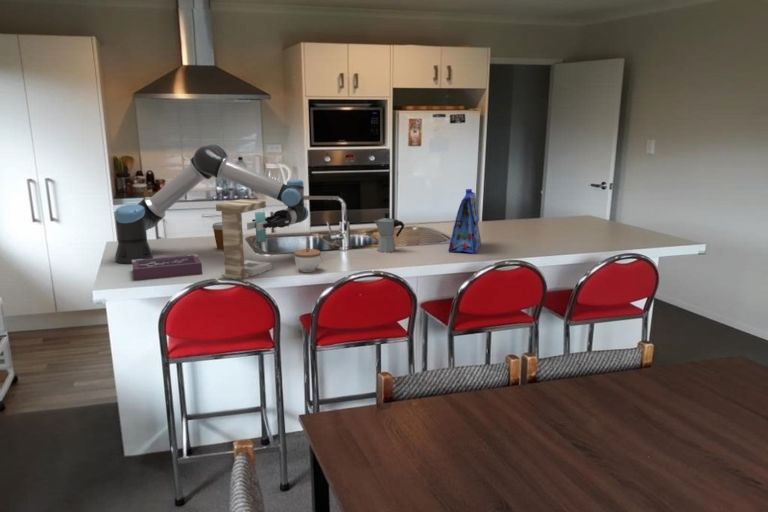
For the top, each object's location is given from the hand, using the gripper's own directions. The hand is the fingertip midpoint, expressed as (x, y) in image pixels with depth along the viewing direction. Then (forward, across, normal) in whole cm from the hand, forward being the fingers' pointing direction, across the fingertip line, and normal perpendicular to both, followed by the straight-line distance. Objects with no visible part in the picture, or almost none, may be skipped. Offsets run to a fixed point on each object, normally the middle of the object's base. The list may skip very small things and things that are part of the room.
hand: (252, 226), depth 234 cm
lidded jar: (-8, -20, -18) cm, 29 cm away
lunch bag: (-75, -68, -18) cm, 103 cm away
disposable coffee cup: (-26, +36, -18) cm, 48 cm away
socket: (+3, 0, -18) cm, 18 cm away
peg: (-5, 0, -7) cm, 9 cm away
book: (+18, +29, -19) cm, 39 cm away
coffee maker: (-54, -37, -18) cm, 68 cm away
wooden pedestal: (+7, 0, -18) cm, 19 cm away
